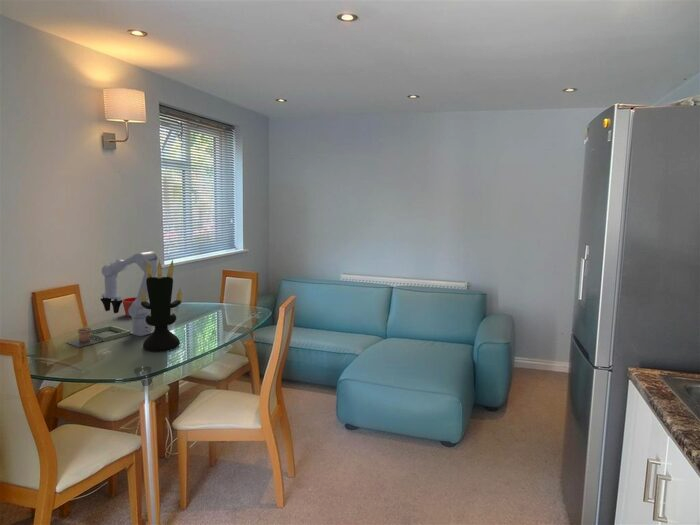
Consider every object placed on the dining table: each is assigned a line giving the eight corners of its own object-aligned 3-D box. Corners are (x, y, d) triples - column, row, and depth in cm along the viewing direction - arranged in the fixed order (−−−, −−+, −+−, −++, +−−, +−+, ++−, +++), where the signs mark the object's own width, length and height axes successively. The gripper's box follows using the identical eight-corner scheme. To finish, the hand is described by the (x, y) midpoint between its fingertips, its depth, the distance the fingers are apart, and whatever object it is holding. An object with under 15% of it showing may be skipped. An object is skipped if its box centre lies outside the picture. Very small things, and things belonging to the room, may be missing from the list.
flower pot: (135, 318, 285) (134, 301, 284) (119, 316, 287) (118, 300, 286) (146, 313, 295) (146, 298, 294) (130, 312, 298) (129, 296, 296)
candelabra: (182, 340, 247) (181, 252, 241) (184, 354, 227) (182, 259, 220) (142, 343, 241) (139, 253, 234) (140, 357, 220) (137, 259, 213)
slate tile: (101, 342, 240) (101, 341, 240) (79, 347, 231) (79, 346, 231) (88, 337, 246) (88, 337, 245) (66, 343, 236) (66, 342, 236)
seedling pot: (94, 341, 239) (93, 329, 239) (82, 344, 235) (82, 332, 234) (87, 338, 242) (86, 327, 241) (75, 341, 237) (75, 329, 236)
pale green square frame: (130, 334, 253) (130, 330, 253) (103, 341, 241) (103, 337, 240) (111, 328, 262) (111, 325, 262) (83, 335, 249) (83, 331, 249)
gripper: (95, 286, 259) (96, 311, 261) (112, 290, 252) (113, 315, 254) (108, 284, 265) (109, 308, 267) (124, 288, 258) (125, 312, 260)
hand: (111, 311), depth 261 cm, fingers open, 7 cm apart
